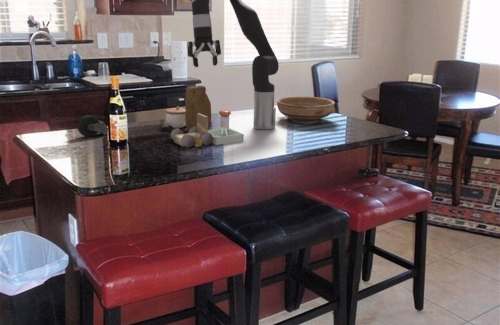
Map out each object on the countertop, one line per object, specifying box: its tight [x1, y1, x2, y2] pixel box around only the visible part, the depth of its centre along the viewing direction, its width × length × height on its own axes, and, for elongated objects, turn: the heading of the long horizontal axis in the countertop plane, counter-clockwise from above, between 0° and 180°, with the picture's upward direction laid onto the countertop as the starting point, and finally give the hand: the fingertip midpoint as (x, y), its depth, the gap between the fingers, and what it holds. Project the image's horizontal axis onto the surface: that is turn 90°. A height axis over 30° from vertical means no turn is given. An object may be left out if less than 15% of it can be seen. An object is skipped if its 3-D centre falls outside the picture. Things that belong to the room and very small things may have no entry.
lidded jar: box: [165, 105, 186, 129], centre depth 236 cm, size 11×11×9 cm
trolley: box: [170, 113, 213, 148], centre depth 206 cm, size 13×14×11 cm
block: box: [184, 85, 212, 131], centre depth 227 cm, size 11×8×20 cm
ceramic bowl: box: [276, 95, 336, 124], centre depth 252 cm, size 37×29×10 cm
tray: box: [208, 127, 245, 146], centre depth 213 cm, size 13×13×3 cm
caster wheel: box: [77, 114, 109, 138], centre depth 216 cm, size 6×10×15 cm
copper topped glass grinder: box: [219, 110, 232, 137], centre depth 214 cm, size 5×5×11 cm
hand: (205, 66), depth 212 cm, fingers open, 8 cm apart
